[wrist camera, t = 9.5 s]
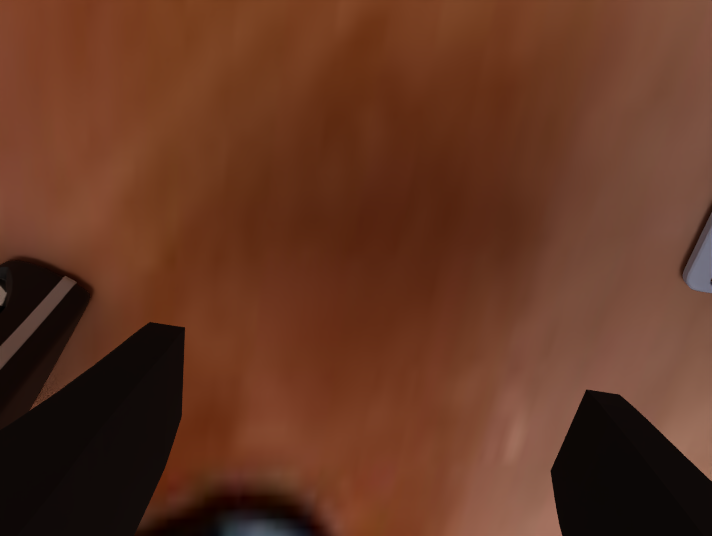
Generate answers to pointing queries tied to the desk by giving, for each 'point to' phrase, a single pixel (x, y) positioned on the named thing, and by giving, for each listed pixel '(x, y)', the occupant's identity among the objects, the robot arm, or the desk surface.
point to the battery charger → (33, 331)
